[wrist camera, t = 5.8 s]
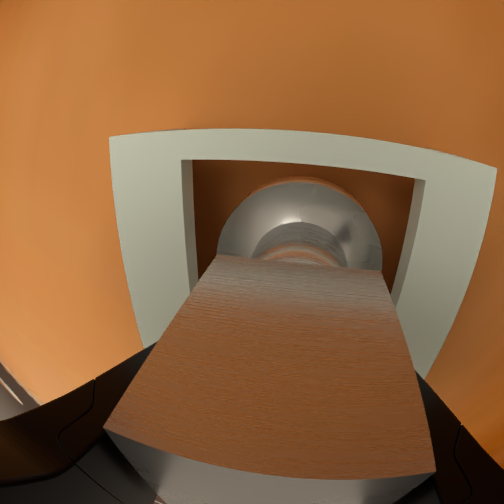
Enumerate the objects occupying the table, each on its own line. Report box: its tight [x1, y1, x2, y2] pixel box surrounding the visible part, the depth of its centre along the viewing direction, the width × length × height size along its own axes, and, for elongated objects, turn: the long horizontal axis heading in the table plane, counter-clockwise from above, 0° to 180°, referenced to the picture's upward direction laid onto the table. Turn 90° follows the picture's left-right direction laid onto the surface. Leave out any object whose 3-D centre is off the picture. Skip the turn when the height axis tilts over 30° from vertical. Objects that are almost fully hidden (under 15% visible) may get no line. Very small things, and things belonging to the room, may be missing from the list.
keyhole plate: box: [109, 128, 497, 379], centre depth 14 cm, size 20×14×4 cm
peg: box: [103, 176, 436, 504], centre depth 8 cm, size 6×6×10 cm
